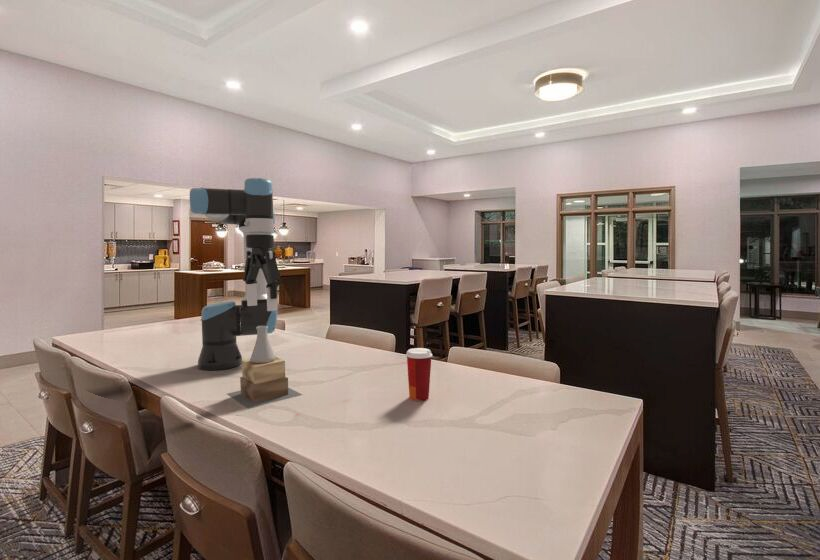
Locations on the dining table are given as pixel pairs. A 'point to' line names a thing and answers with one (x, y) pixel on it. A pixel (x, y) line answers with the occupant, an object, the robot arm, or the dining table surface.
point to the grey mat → (251, 404)
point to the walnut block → (264, 389)
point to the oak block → (263, 371)
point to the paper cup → (419, 373)
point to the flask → (262, 347)
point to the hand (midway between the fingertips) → (261, 308)
